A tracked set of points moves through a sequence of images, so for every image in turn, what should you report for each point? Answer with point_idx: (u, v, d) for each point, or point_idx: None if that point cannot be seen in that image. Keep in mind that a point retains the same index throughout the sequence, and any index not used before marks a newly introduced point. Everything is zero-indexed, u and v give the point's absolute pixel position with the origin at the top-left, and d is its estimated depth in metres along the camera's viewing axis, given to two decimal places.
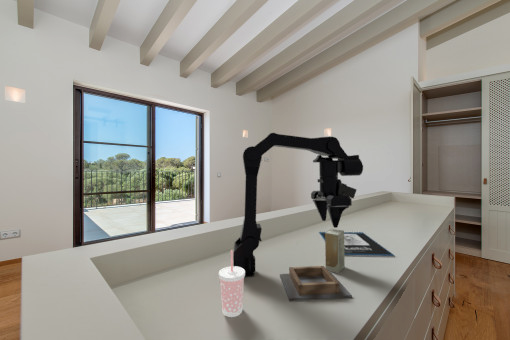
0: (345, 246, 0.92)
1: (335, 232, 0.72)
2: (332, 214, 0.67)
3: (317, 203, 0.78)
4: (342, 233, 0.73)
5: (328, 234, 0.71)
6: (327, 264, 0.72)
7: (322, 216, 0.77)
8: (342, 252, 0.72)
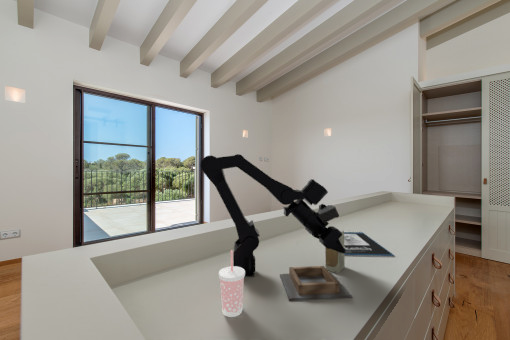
0: (345, 246, 0.92)
1: None
2: (333, 248, 0.68)
3: (317, 236, 0.77)
4: (342, 233, 0.73)
5: None
6: (327, 264, 0.72)
7: None
8: None
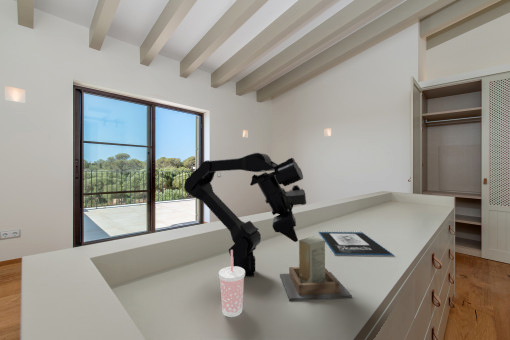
0: (345, 246, 0.92)
1: (311, 241, 0.61)
2: (285, 233, 0.64)
3: None
4: (320, 243, 0.61)
5: (301, 242, 0.61)
6: (300, 277, 0.62)
7: None
8: (320, 265, 0.61)
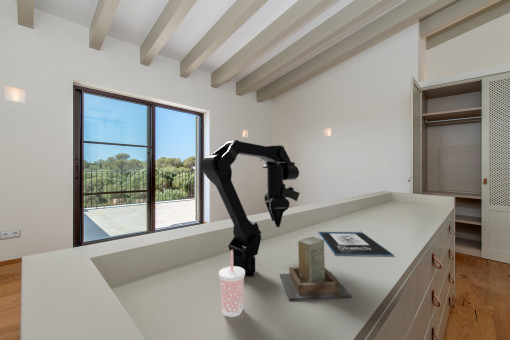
0: (345, 246, 0.92)
1: (310, 241, 0.61)
2: (274, 215, 0.75)
3: (268, 205, 0.86)
4: (320, 243, 0.61)
5: (301, 242, 0.61)
6: (300, 277, 0.62)
7: (272, 217, 0.85)
8: (319, 265, 0.61)
